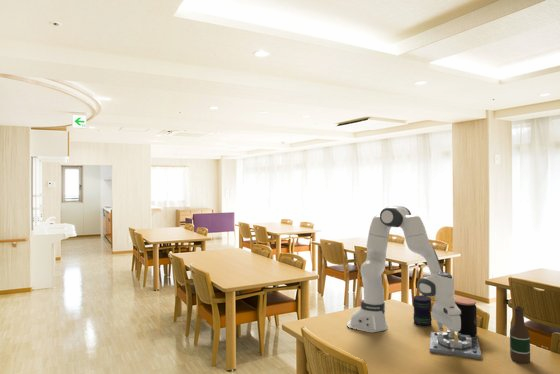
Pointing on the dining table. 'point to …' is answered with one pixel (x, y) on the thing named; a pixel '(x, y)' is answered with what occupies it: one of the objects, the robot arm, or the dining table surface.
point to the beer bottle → (519, 338)
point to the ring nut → (454, 340)
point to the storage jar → (422, 311)
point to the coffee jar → (467, 316)
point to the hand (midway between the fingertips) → (445, 333)
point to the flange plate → (464, 352)
